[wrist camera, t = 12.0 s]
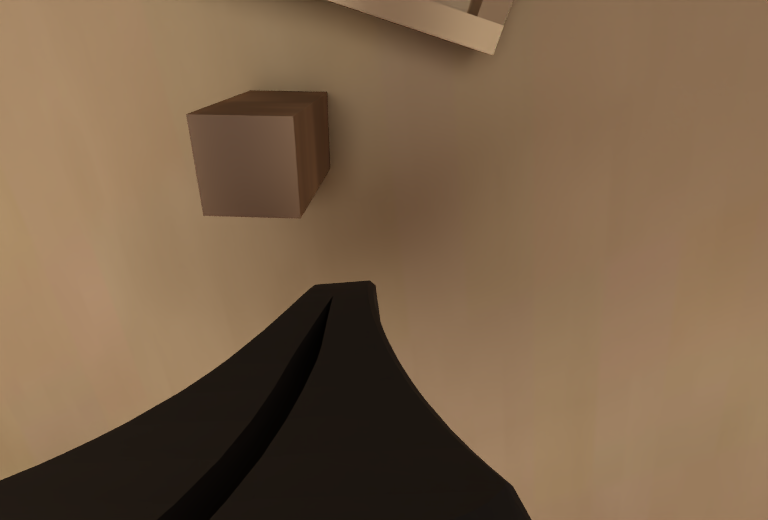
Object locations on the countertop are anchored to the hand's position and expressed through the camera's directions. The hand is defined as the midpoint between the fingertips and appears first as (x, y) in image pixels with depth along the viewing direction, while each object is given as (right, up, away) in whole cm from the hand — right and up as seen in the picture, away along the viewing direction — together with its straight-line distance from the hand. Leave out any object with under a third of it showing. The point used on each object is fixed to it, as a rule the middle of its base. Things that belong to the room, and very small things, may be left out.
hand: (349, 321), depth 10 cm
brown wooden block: (-3, +7, +8) cm, 11 cm away
